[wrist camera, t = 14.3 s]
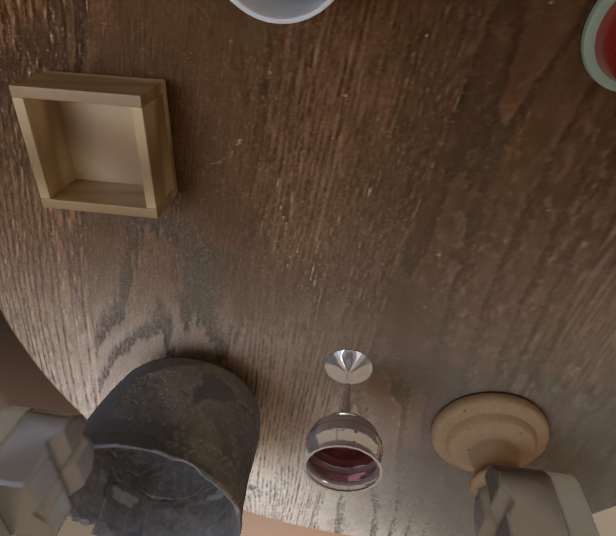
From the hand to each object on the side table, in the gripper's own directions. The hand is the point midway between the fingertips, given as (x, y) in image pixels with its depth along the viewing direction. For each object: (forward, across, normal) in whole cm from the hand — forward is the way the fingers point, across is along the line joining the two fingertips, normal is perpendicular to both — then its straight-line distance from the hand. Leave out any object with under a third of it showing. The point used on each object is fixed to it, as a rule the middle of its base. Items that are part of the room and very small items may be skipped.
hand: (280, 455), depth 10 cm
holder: (+31, +18, +5) cm, 36 cm away
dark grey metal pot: (+31, +14, +33) cm, 48 cm away
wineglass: (+31, -3, +28) cm, 42 cm away
